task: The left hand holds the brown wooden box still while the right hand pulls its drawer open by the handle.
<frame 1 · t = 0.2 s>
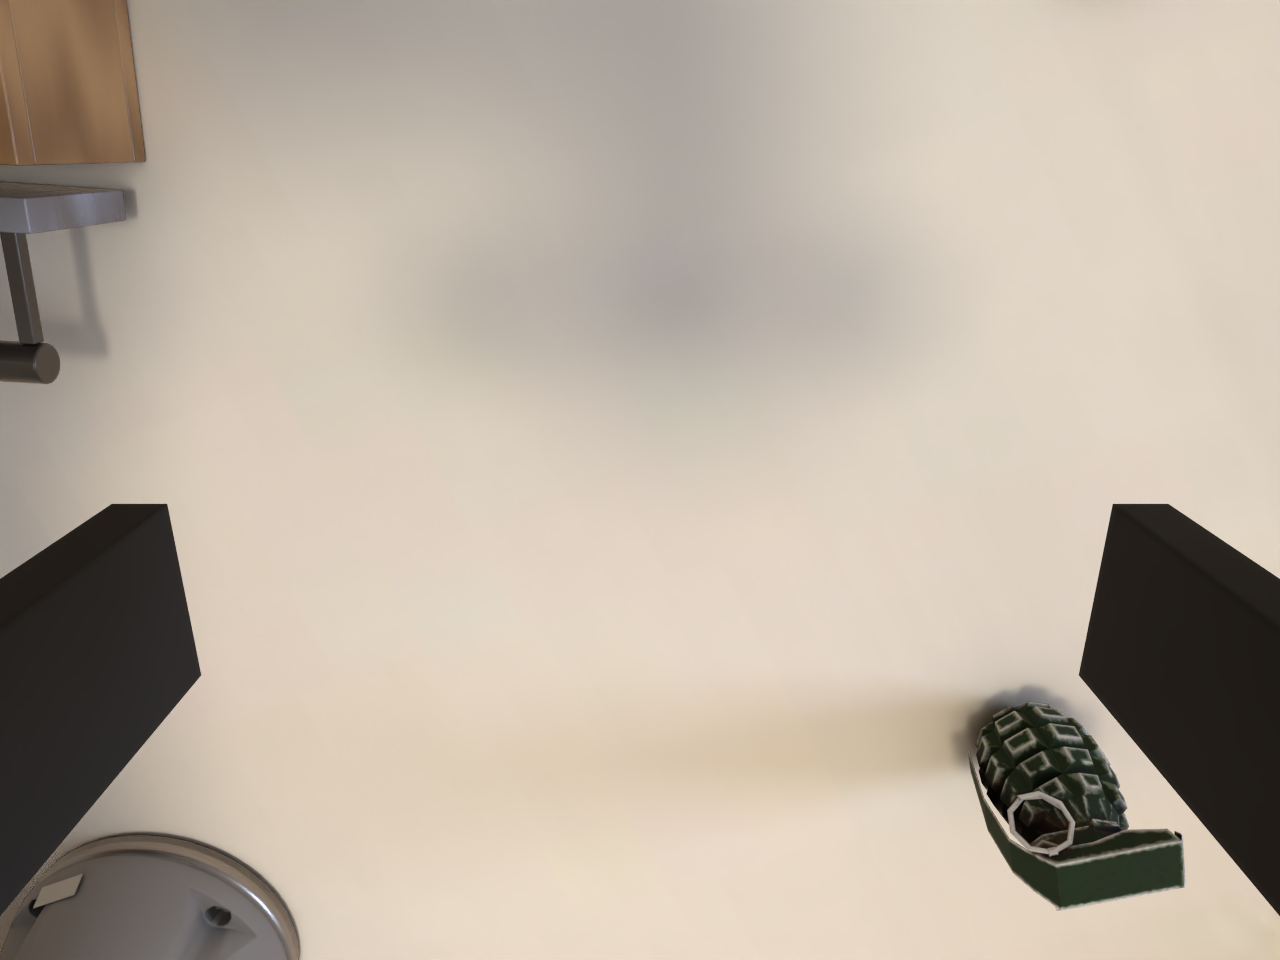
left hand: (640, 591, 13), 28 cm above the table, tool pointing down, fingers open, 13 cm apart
grenade: (1010, 729, 47), on the table
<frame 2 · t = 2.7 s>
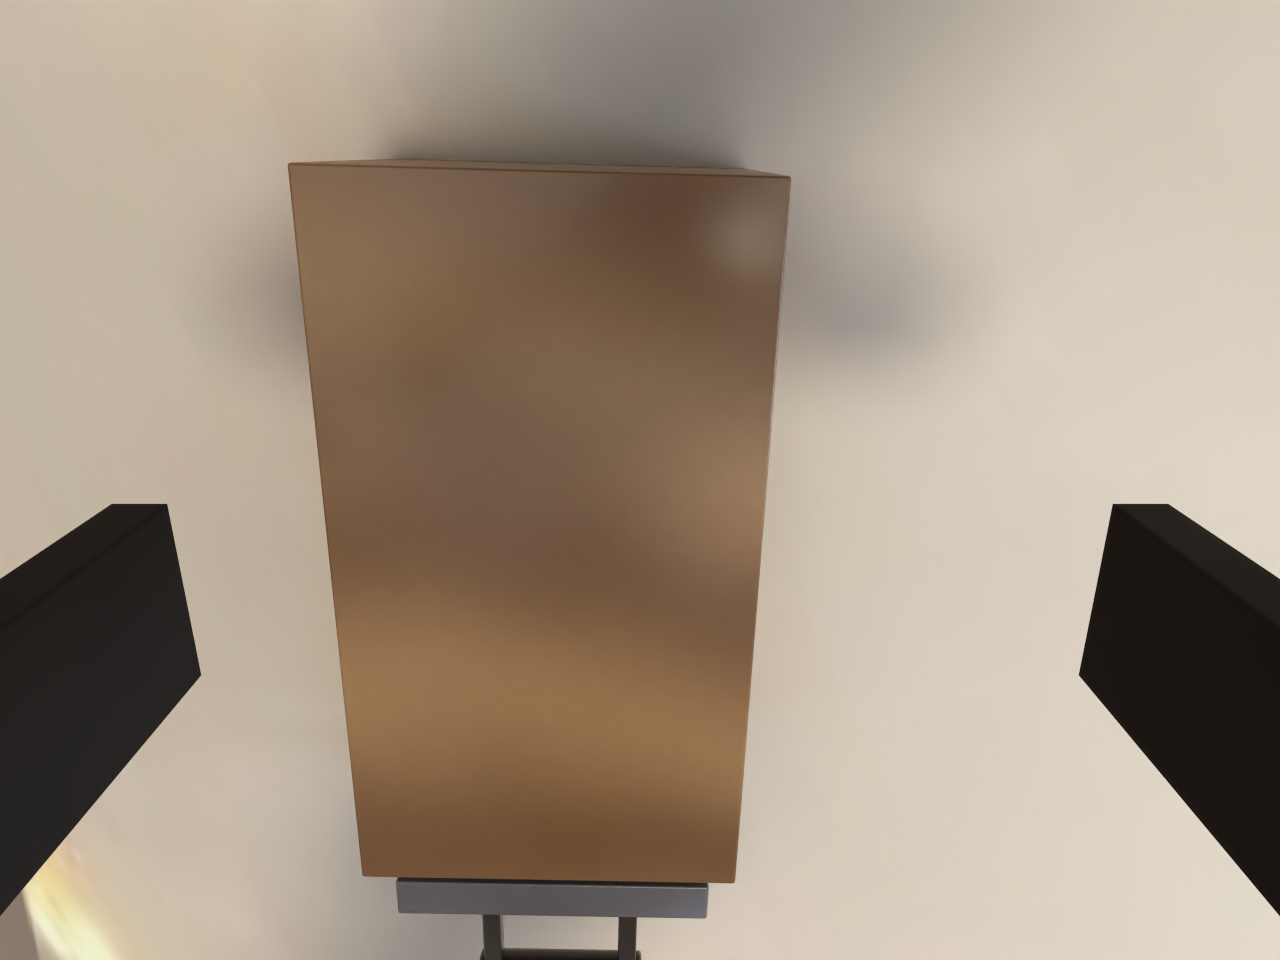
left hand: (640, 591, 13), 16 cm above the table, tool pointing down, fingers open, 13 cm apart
brown wooden box: (569, 466, 29), on the table
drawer: (560, 693, 27), point 4 cm above the table, slide at 1.1 cm
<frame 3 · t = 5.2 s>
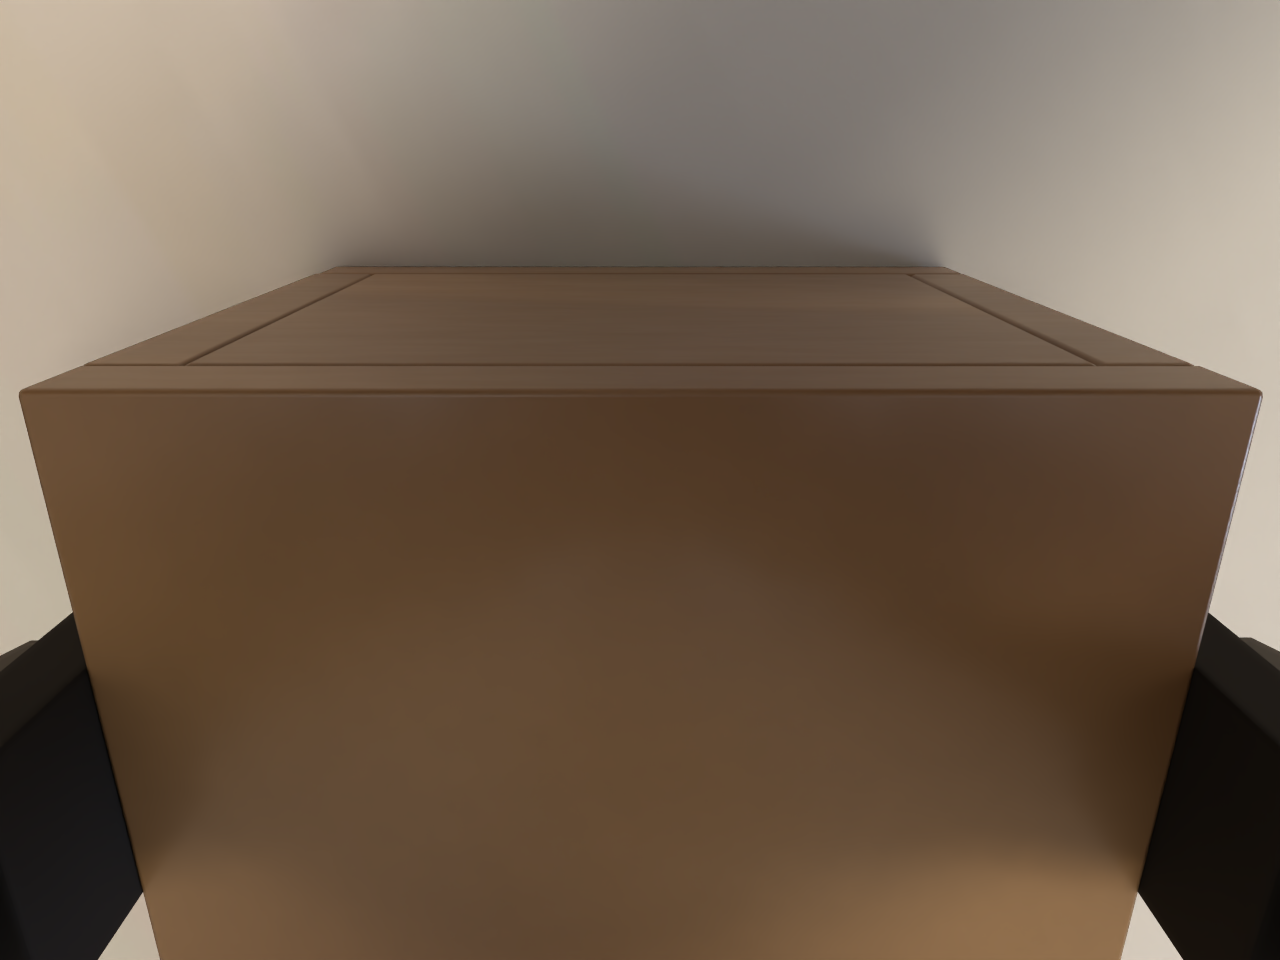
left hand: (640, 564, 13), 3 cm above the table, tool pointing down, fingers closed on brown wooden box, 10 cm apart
brown wooden box: (640, 731, 18), on the table, touching left hand
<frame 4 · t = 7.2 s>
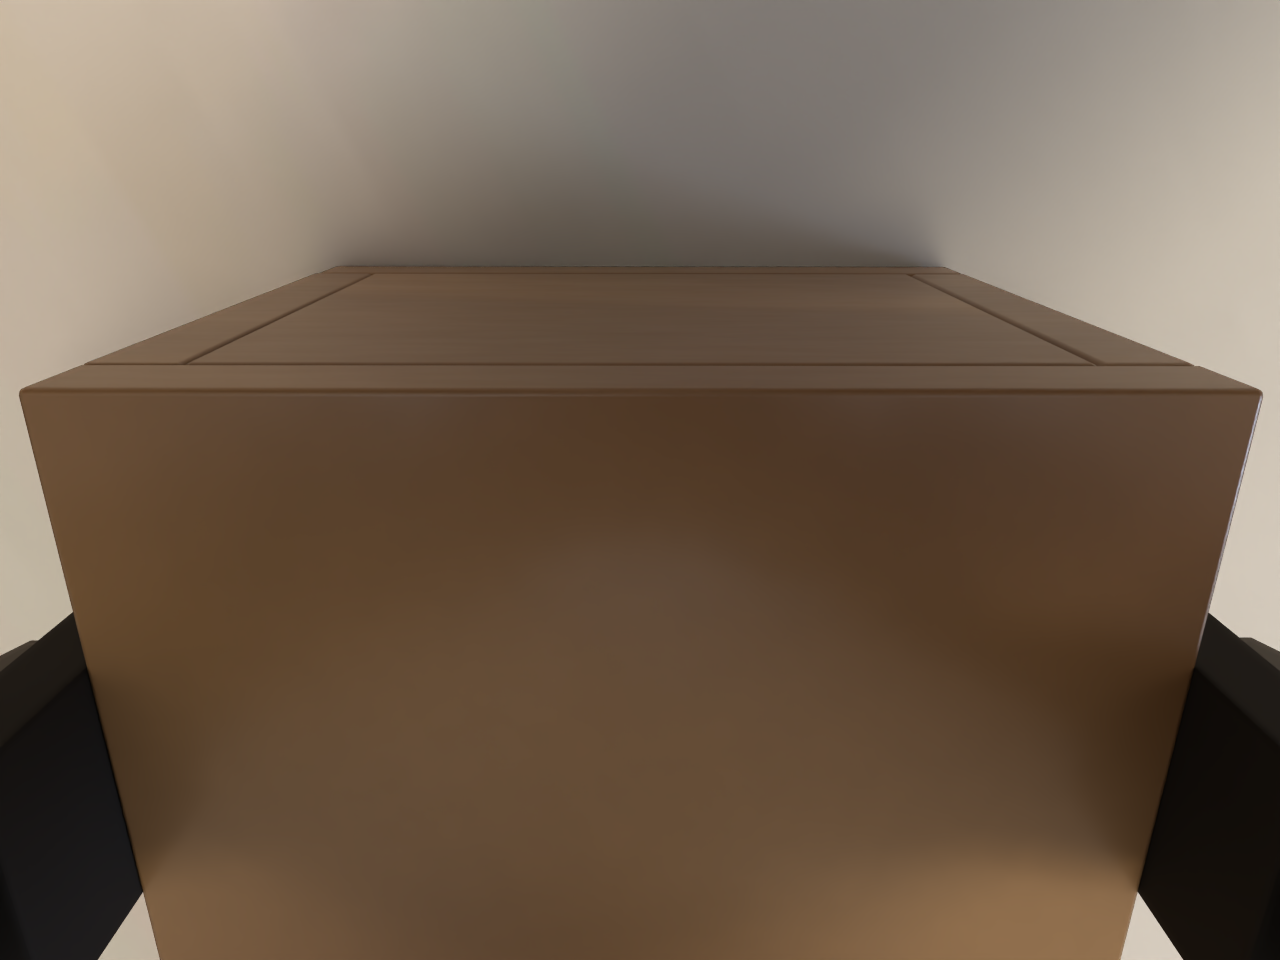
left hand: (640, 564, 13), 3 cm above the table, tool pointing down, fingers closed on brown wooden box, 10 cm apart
brown wooden box: (639, 731, 18), on the table, touching left hand
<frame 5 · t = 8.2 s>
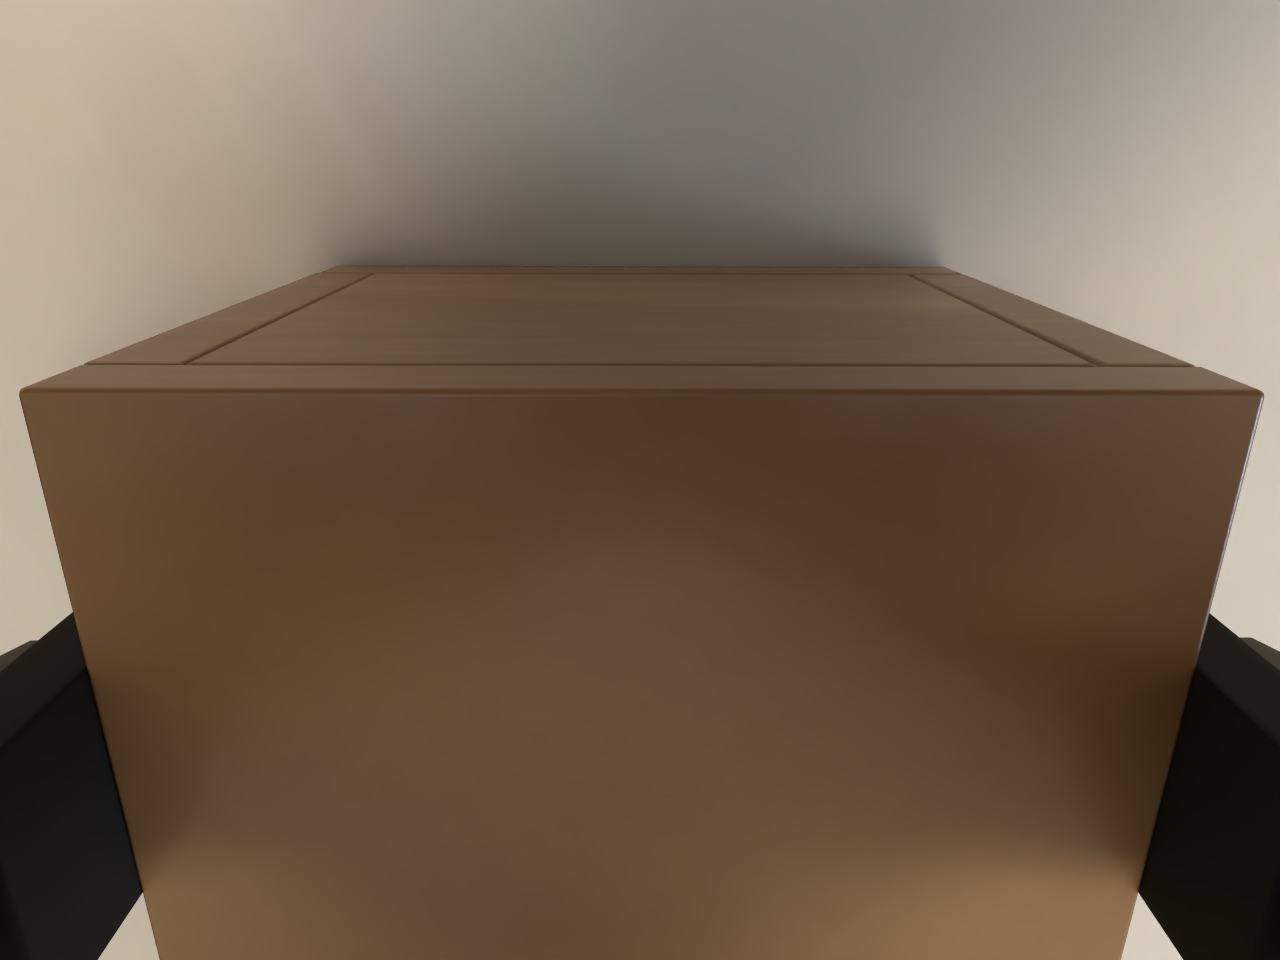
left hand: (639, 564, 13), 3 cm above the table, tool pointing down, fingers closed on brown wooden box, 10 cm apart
brown wooden box: (639, 731, 18), on the table, touching left hand
when the left hand's fingers open (3 cm above the table, at t = 9.9 s): brown wooden box stays where it is, on the table.
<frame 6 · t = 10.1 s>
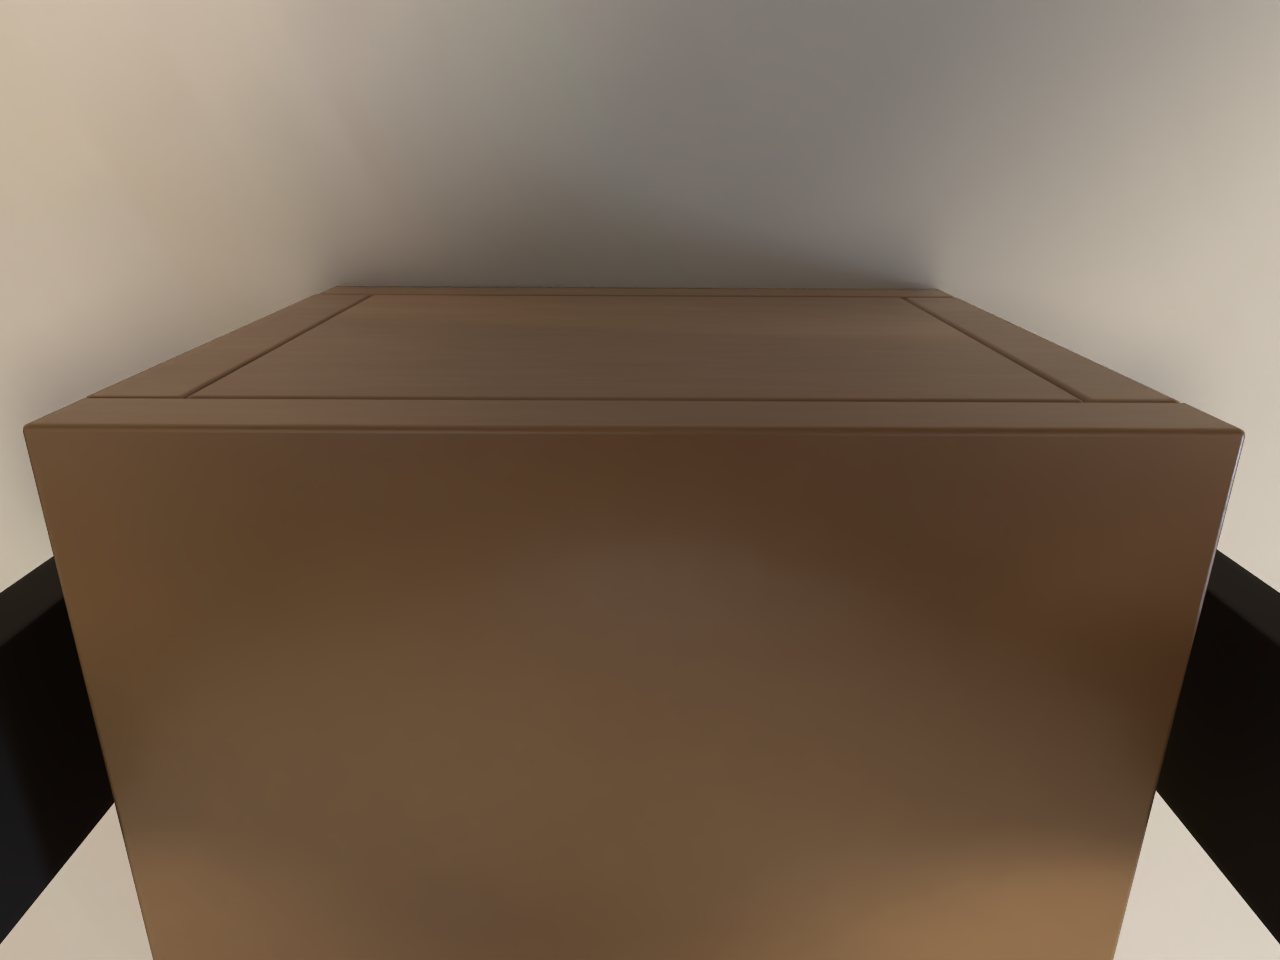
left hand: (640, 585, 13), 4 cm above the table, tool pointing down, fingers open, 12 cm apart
brown wooden box: (635, 745, 18), on the table
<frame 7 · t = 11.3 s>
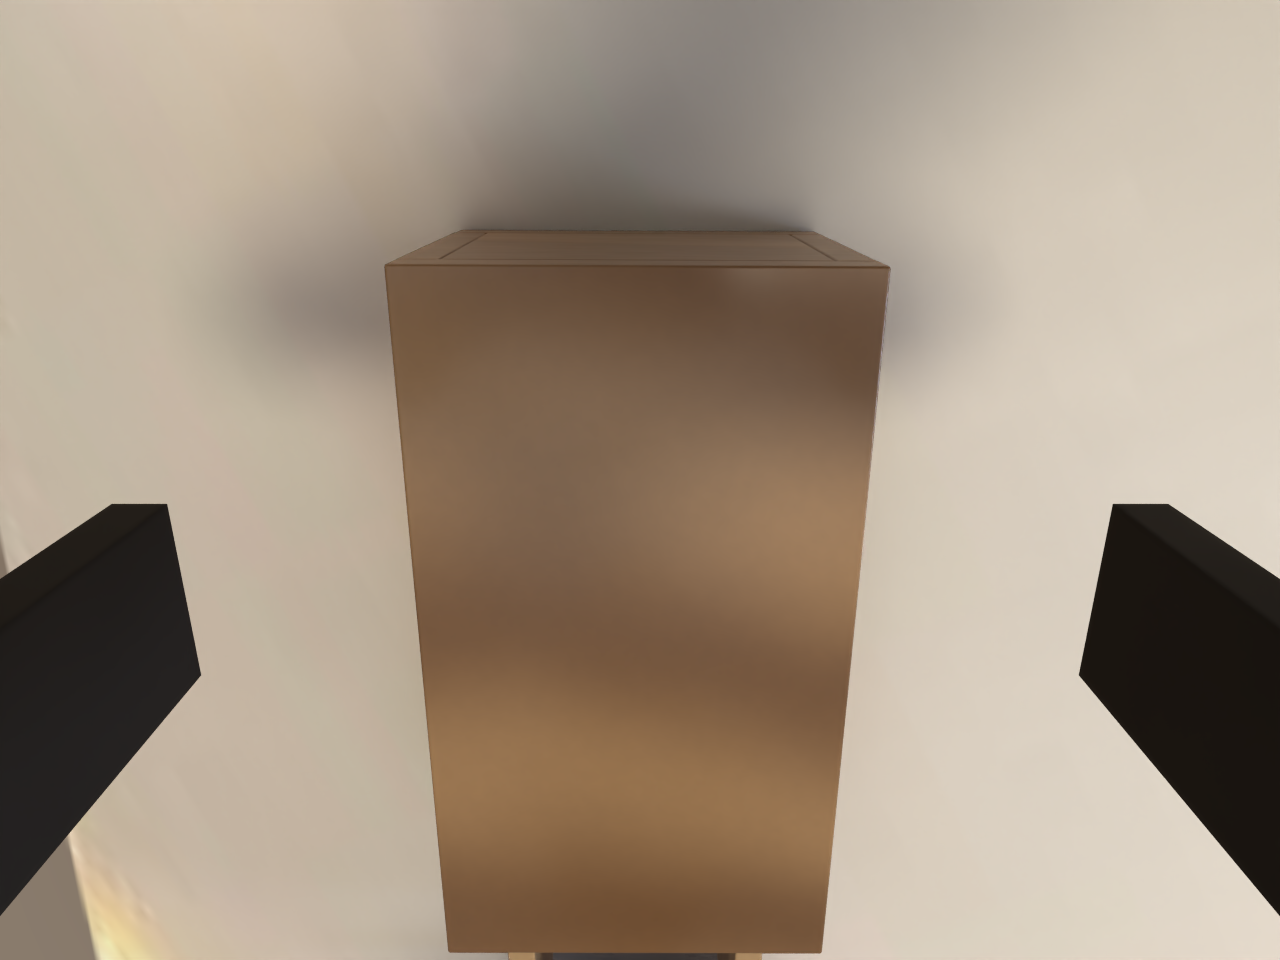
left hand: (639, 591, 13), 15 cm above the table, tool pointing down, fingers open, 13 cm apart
brown wooden box: (636, 526, 29), on the table
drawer: (635, 926, 30), point 4 cm above the table, slide at 7.8 cm
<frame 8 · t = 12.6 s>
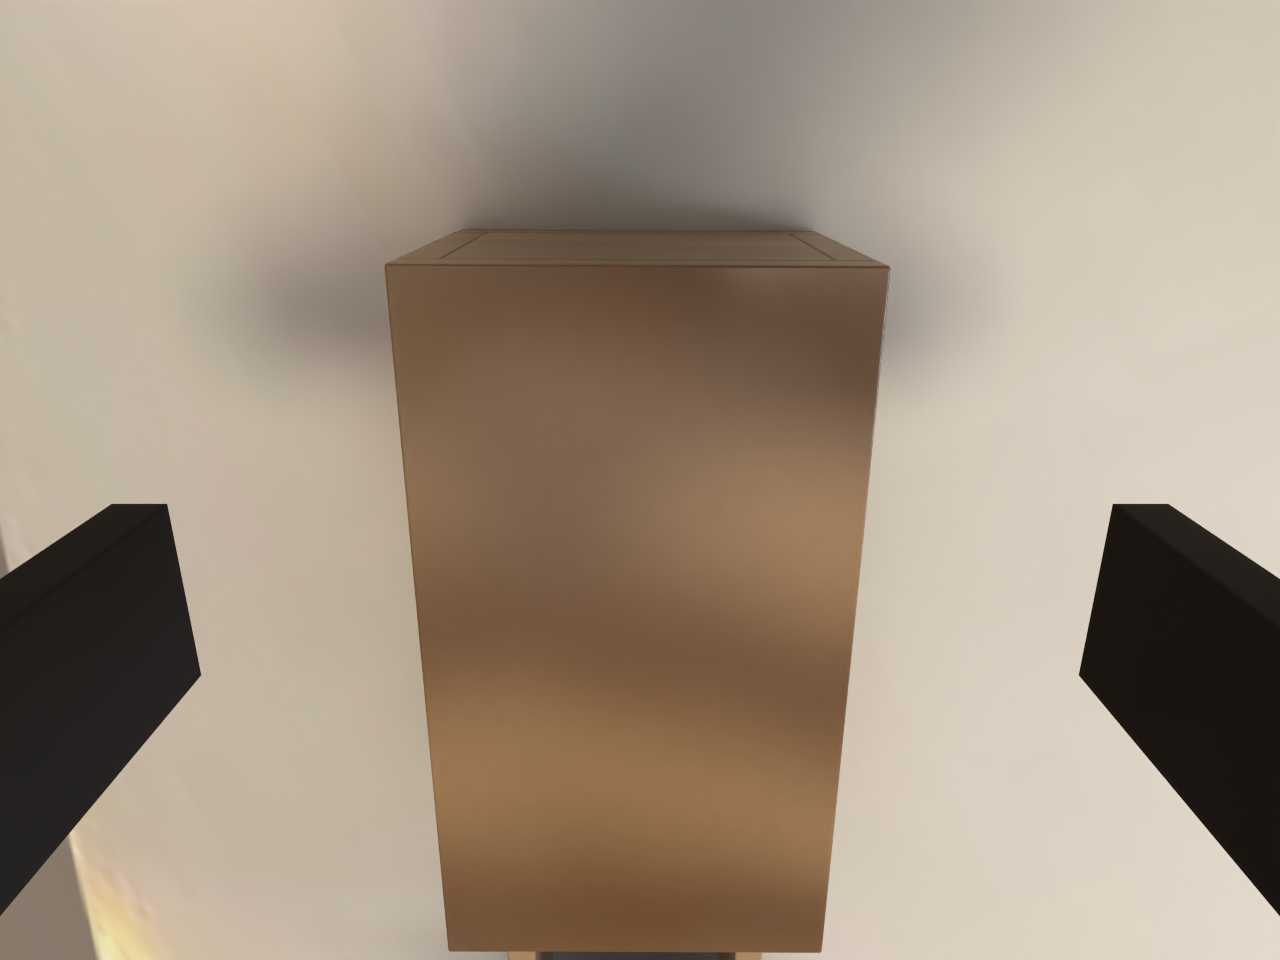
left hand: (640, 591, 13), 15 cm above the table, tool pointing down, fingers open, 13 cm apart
brown wooden box: (637, 526, 29), on the table
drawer: (635, 925, 30), point 4 cm above the table, slide at 7.8 cm
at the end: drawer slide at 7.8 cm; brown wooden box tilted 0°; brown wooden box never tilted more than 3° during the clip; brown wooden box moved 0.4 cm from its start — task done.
